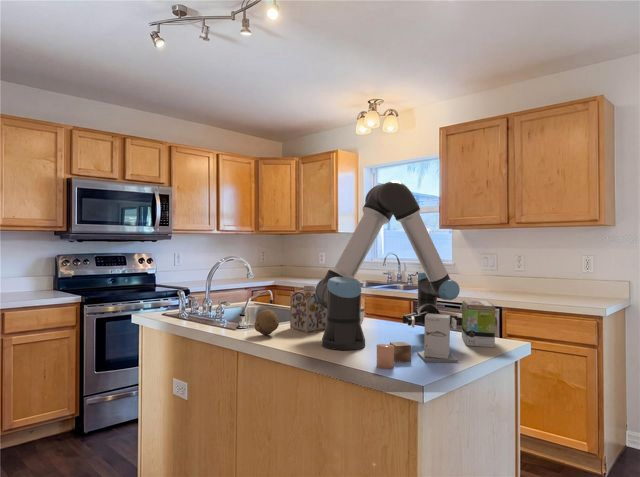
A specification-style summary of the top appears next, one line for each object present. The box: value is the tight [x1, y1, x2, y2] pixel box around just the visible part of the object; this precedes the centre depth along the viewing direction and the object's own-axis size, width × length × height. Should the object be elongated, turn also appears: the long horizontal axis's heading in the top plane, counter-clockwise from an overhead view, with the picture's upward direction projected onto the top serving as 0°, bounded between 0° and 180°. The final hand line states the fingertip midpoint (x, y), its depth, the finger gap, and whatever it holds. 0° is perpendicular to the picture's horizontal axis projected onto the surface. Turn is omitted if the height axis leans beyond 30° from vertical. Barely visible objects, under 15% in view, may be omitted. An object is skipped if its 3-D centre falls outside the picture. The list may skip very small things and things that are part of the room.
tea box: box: [461, 299, 496, 348], centre depth 164 cm, size 15×10×15 cm, turn 168°
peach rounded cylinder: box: [376, 343, 395, 370], centre depth 129 cm, size 5×5×6 cm
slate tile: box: [416, 351, 459, 364], centre depth 139 cm, size 10×10×1 cm
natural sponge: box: [254, 309, 280, 336], centre depth 171 cm, size 9×9×10 cm
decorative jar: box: [289, 285, 327, 333], centre depth 187 cm, size 12×12×18 cm
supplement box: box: [423, 313, 451, 359], centre depth 140 cm, size 7×7×13 cm
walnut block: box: [389, 341, 412, 363], centre depth 137 cm, size 5×5×5 cm
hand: (434, 324), depth 149 cm, fingers open, 13 cm apart
